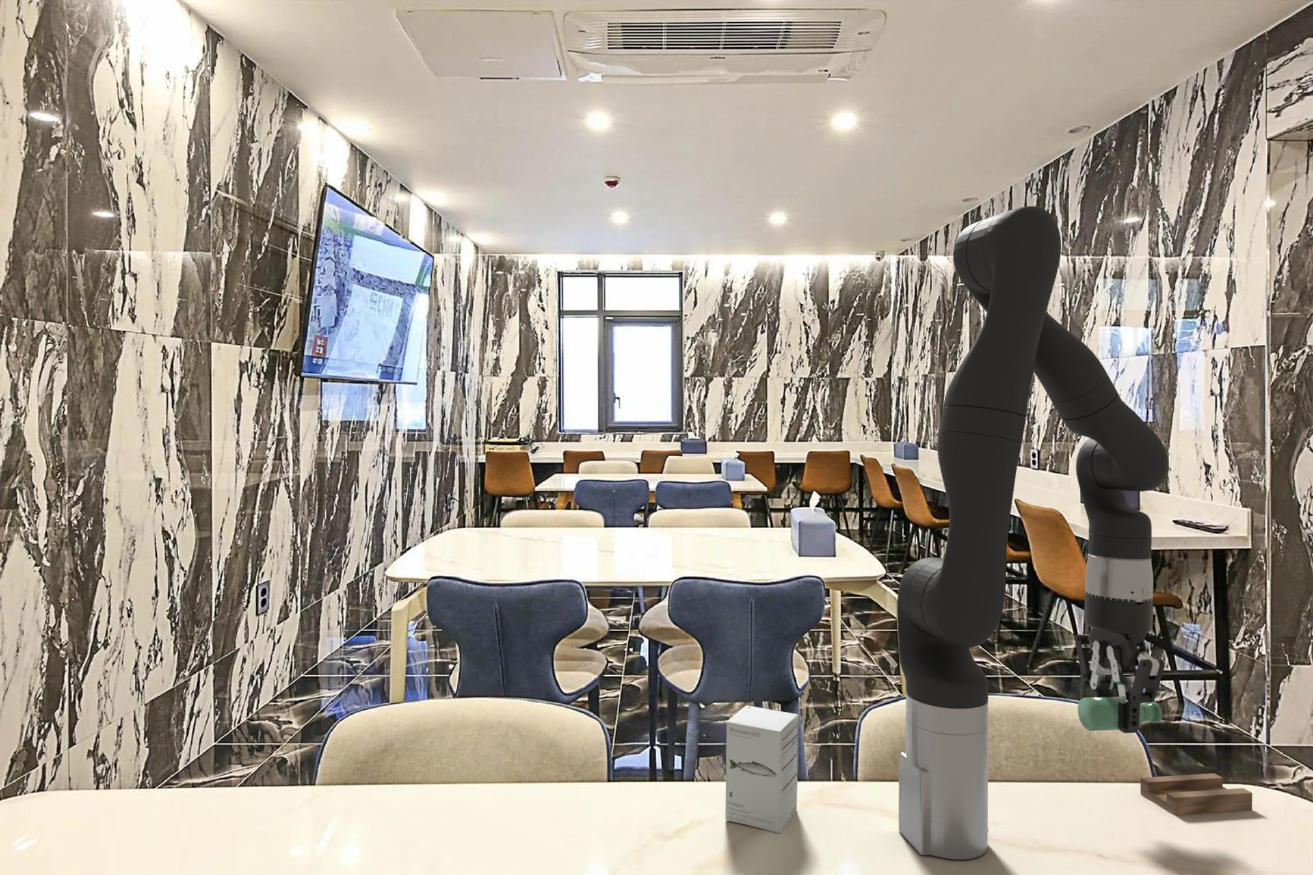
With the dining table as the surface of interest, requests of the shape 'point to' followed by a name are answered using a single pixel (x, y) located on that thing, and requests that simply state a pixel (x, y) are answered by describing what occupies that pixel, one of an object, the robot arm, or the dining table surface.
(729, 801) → the supplement box
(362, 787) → the dining table surface
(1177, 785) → the bottle rest
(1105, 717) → the bottle
